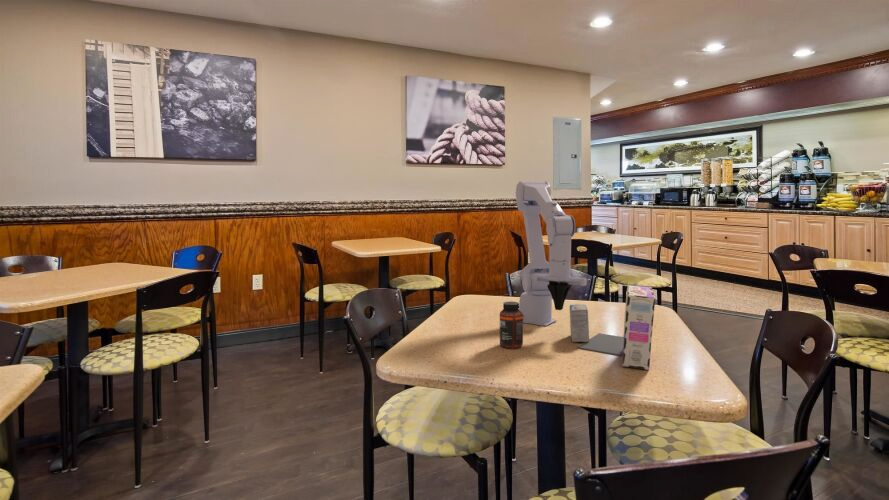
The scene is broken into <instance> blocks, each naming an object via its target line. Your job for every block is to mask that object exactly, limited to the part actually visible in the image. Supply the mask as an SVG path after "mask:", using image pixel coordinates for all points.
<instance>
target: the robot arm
mask: <svg viewBox="0 0 889 500" xmlns="http://www.w3.org/2000/svg"><path fill="white" fill-rule="evenodd" d="M515 187H516V188H515V200H516V206H517V210H518V211H519V212H520V213H522V216H523V221H524V222H523V223H524V229H525V235H526V243H527V244H526V245H527V250H528V257H529V258H528V259H529V263H528V264H527V265H525V266H524V267H523V269H522V271H521V273H522V274H521V275H522V279H521V283H522V284H521V285H522V289H523V291H524V292H522V293H521V294H520V297H519V301H518V303H519V310H520V311H521V312H522V314H523V324H524V323H525V324H530V325H535V326H537V325H538V326H543V327H546V326H549V325H551V324H553V323H555V322H556V321H558V320H557V319H556V318H552V313H553V312H552V311H553V310H552V309H553V306H554V309H555V310H556V311H563V309H564V305H565V302H566V298H567V296H568V293H569V291H570V290H571V288H572V286H573V285H574V286H580V287H585V286H587V284H588V283H587V281H588V280H587V279H588V278H586V277H580V276H573V275H571V270H572V268H571V265H572V257H571V256H572V238H573V236H575V233H576V220H575V218H574V216H573V215H572V214H571V215H568V214H566V213H565V211H564V210H563V209H562V208H561V206H560V204H559V203H558V202H557V201H555V200H554V201H553V199H552V197H551V196H552V195H551V194H552V189H551V188H552V187H551V184H550V182H549V181H547V180H546V181H518V183H517V184H516V186H515ZM540 216H541V217H542V220H543V221H544V222H545V224H546V226H545V228H546V229H545V231H546V234H547V243H548V244H549V253H548V254H549V255H548V258H549V259H548V260H547V259H546V252H545V246H544V240H543V233H542V226H541V219H540ZM553 303H554V305H553ZM552 305H553V306H552Z"/></svg>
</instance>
